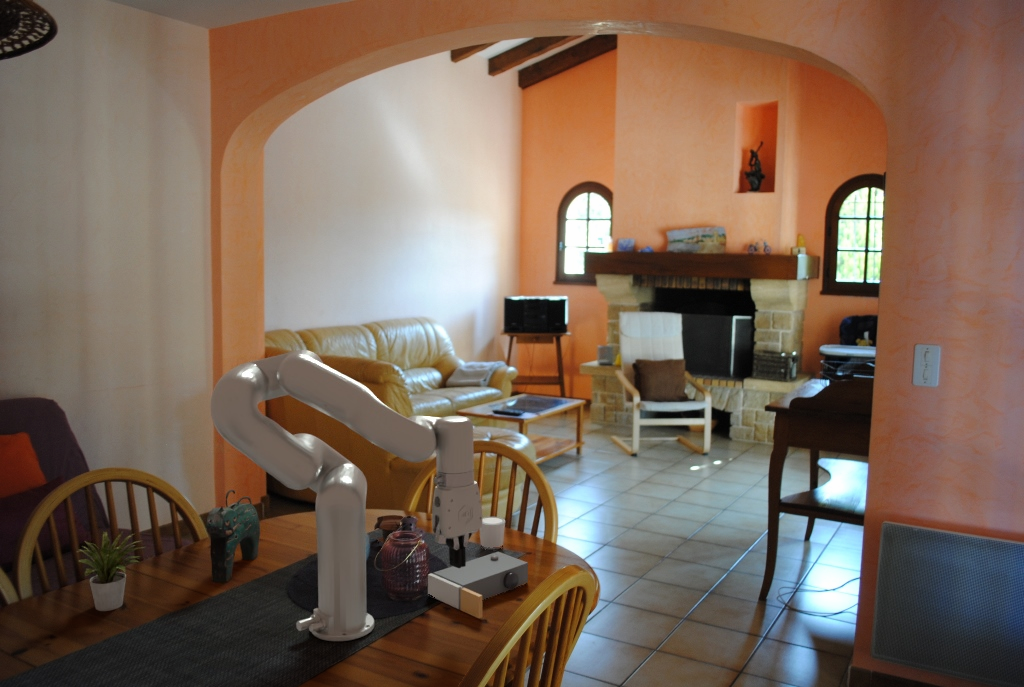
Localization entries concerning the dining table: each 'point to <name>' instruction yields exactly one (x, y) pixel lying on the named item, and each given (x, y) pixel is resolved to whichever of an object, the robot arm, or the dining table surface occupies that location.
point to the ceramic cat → (232, 536)
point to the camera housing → (488, 574)
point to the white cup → (492, 532)
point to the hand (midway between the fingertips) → (457, 565)
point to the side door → (455, 595)
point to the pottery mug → (387, 525)
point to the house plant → (108, 572)
